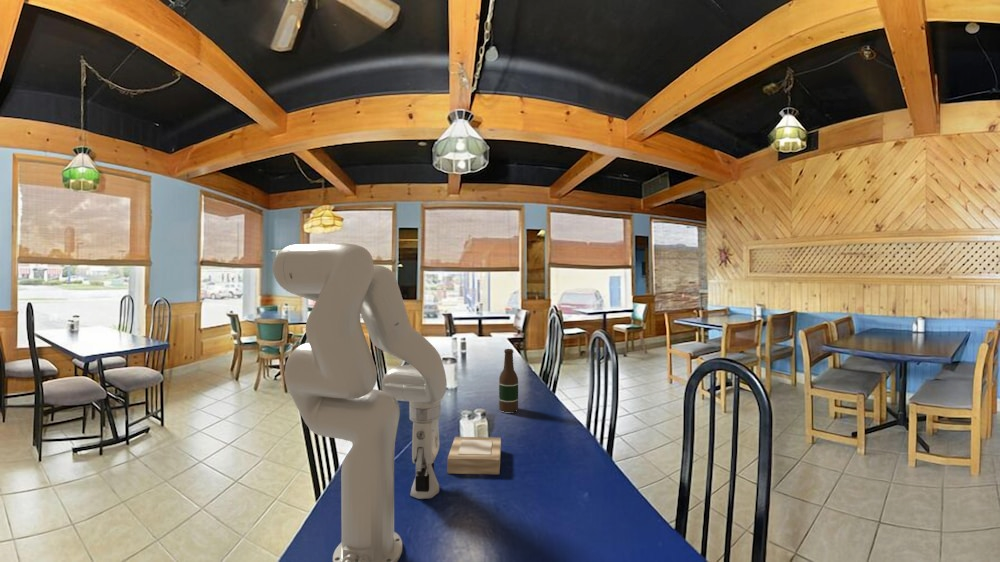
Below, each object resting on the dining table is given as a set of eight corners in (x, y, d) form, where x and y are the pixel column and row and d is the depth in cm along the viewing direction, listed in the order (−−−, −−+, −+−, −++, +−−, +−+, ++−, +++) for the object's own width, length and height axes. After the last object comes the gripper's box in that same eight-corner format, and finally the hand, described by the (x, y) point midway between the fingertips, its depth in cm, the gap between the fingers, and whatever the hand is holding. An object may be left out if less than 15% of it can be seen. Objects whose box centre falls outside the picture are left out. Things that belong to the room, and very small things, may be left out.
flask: (433, 501, 92) (433, 459, 92) (404, 498, 94) (404, 456, 94) (443, 485, 100) (444, 446, 99) (417, 482, 101) (417, 443, 101)
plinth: (499, 474, 105) (499, 458, 105) (447, 473, 106) (447, 457, 105) (500, 450, 119) (500, 437, 119) (454, 449, 120) (454, 436, 119)
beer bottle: (496, 412, 151) (496, 350, 151) (501, 406, 159) (502, 347, 158) (515, 414, 149) (515, 352, 149) (520, 408, 157) (520, 348, 156)
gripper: (433, 425, 88) (433, 505, 88) (446, 400, 105) (445, 467, 105) (400, 424, 88) (400, 504, 88) (418, 399, 105) (418, 467, 105)
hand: (425, 483), depth 97 cm, fingers closed on flask, 4 cm apart
